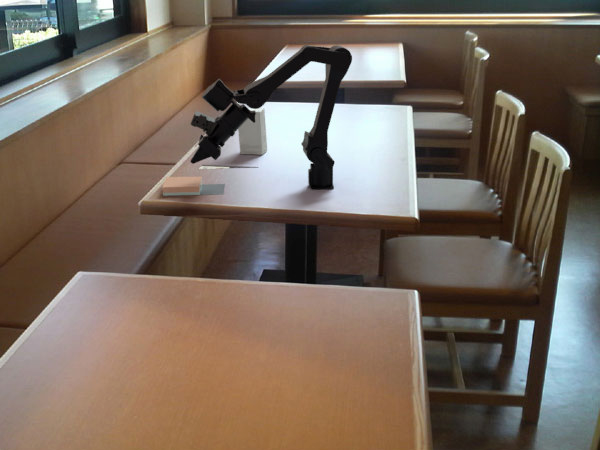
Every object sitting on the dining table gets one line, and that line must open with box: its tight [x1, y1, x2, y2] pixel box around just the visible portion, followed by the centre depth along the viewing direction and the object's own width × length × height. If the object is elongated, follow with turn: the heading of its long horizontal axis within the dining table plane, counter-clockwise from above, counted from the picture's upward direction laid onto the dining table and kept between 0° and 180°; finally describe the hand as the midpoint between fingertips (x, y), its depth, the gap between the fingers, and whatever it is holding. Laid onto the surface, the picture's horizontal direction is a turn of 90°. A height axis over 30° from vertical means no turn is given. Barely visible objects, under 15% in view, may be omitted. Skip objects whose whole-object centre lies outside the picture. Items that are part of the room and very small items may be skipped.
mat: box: [173, 183, 226, 196], centre depth 188 cm, size 14×9×1 cm, turn 93°
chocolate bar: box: [198, 164, 259, 170], centre depth 206 cm, size 9×1×18 cm
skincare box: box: [237, 107, 268, 156], centre depth 223 cm, size 8×6×15 cm
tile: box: [161, 176, 203, 197], centre depth 187 cm, size 2×9×10 cm
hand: (191, 162), depth 185 cm, fingers closed
